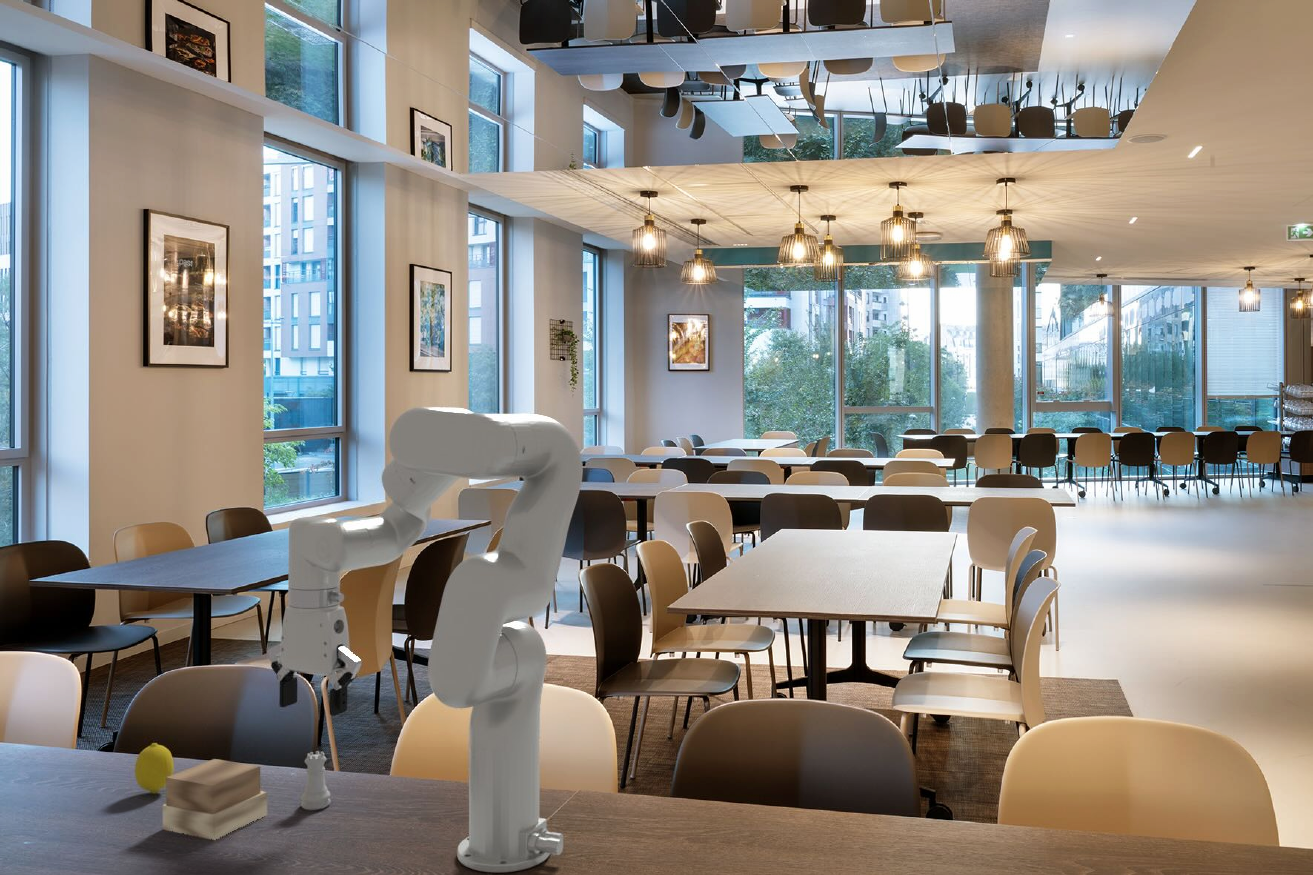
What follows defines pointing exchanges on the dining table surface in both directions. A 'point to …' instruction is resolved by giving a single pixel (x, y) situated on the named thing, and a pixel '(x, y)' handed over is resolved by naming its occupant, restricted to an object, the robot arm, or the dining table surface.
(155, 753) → the lemon
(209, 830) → the beech base block
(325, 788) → the rook chess piece
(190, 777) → the tan top block
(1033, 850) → the dining table surface
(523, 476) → the robot arm
